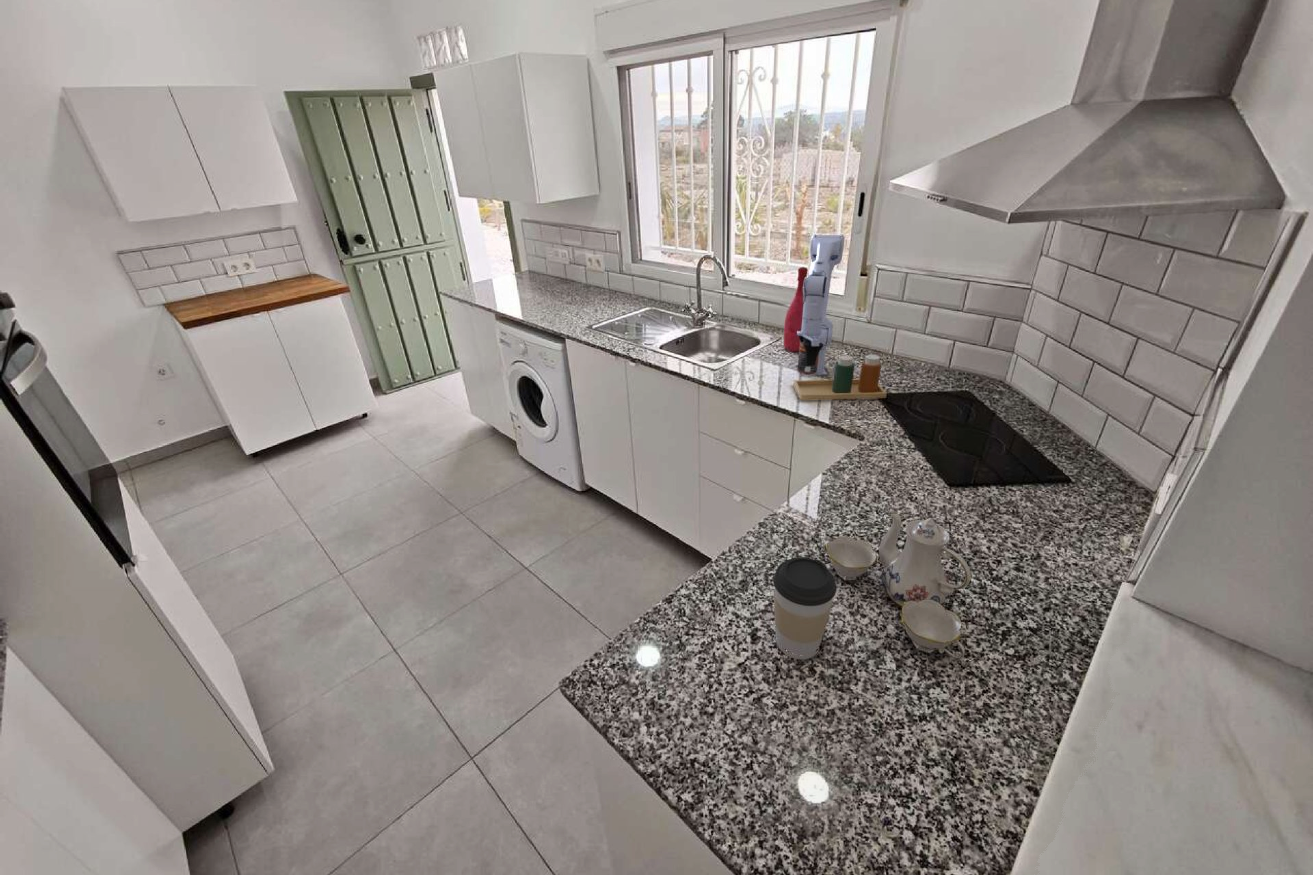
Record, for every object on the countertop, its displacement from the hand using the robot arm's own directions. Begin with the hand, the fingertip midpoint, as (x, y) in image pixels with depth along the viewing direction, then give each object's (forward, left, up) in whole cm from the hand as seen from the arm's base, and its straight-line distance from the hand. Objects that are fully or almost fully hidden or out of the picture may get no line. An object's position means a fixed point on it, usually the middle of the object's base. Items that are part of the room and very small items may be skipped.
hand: (808, 361), depth 165 cm
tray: (+1, +10, -10) cm, 14 cm away
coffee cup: (+97, -21, -11) cm, 100 cm away
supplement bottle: (0, 0, -4) cm, 4 cm away
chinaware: (+88, -2, -11) cm, 89 cm away
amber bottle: (+1, +19, -10) cm, 21 cm away
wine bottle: (-41, +5, -11) cm, 43 cm away
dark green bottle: (+1, +11, -10) cm, 15 cm away
